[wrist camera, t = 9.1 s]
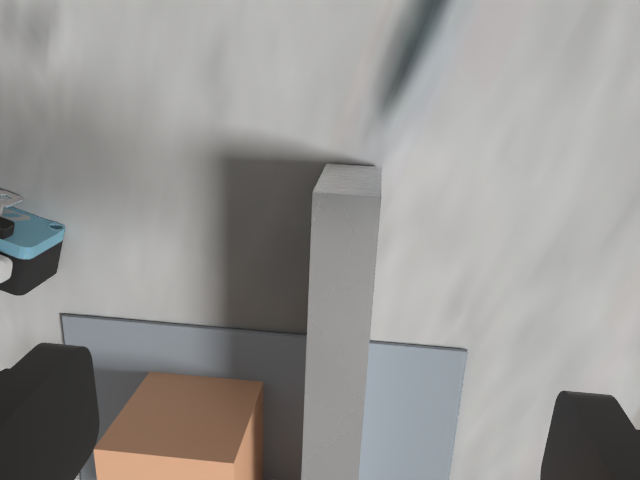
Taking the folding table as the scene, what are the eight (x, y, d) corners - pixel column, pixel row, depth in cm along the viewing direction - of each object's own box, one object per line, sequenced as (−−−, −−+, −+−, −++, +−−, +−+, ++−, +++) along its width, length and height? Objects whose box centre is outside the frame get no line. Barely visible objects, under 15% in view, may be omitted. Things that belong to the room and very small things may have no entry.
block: (149, 371, 24) (93, 449, 19) (263, 381, 24) (233, 463, 19) (156, 465, 26) (106, 558, 21) (263, 476, 25) (236, 573, 21)
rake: (116, 150, 21) (51, 174, 17) (381, 166, 20) (380, 196, 16) (142, 488, 26) (97, 570, 22) (353, 512, 25) (348, 602, 21)
